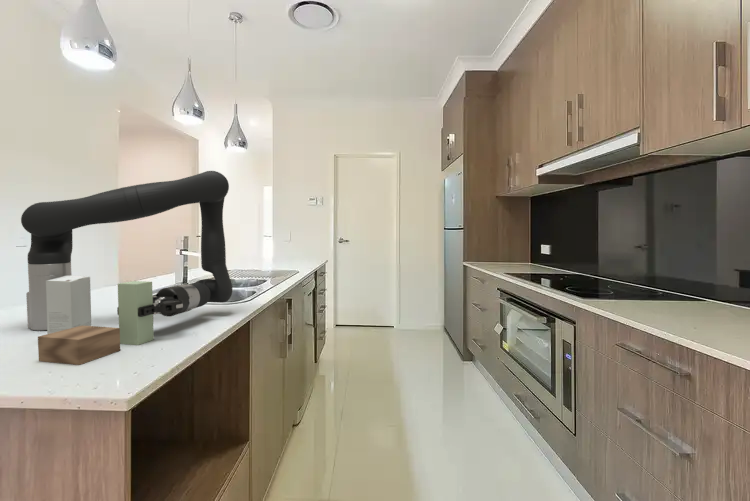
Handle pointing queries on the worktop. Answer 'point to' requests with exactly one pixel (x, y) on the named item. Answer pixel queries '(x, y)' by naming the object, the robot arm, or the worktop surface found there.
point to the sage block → (135, 312)
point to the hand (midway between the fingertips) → (129, 311)
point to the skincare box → (68, 303)
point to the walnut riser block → (78, 344)
